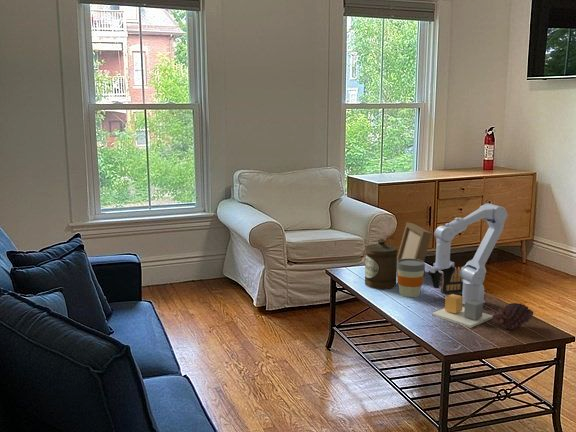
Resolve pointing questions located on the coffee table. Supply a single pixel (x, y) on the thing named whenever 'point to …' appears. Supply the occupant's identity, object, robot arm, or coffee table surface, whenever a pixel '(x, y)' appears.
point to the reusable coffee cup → (410, 276)
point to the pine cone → (513, 315)
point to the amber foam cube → (453, 303)
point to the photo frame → (414, 243)
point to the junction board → (461, 317)
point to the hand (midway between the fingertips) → (441, 285)
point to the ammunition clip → (453, 283)
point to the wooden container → (381, 265)
